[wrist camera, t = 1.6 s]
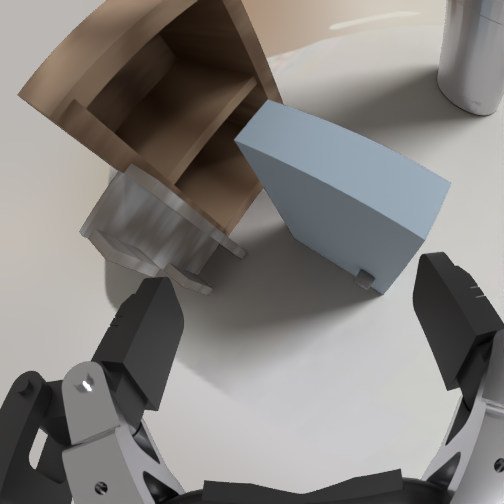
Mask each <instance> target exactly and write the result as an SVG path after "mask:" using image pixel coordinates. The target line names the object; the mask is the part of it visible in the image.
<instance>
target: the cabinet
mask: <svg viewBox="0 0 504 504" xmlns="http://www.w3.org/2000/svg"><path fill="white" fill-rule="evenodd" d="M18 96H19V97H20V98H22V99H23V100H24V101H26V102H27V103H28V104H30V105H31V106H32V107H33V108H35V109H36V110H37V111H39V112H40V113H41V114H43V115H44V116H46V117H47V118H48V119H49V120H51V121H52V122H53V123H55V124H56V125H57V126H59V127H60V128H61V129H63V130H64V131H65V132H67V133H68V134H69V135H71V136H72V137H73V138H75V139H76V140H77V141H79V142H80V143H81V144H83V145H84V146H85V147H87V148H88V149H89V150H91V151H92V152H93V153H95V154H96V155H98V156H99V157H100V158H101V159H103V160H104V161H105V162H107V163H108V164H109V165H111V166H112V167H114V168H115V169H116V170H118V173H117V174H116V176H115V177H114V178H113V180H112V181H111V183H110V184H109V186H108V187H107V189H106V190H105V192H104V193H103V195H102V196H101V198H100V199H99V201H98V202H97V204H96V205H95V207H94V208H93V210H92V212H91V213H90V215H89V216H88V218H87V220H86V221H85V223H84V225H83V226H82V228H81V230H80V231H79V232H80V233H81V235H82V236H83V237H86V238H88V239H89V240H90V241H91V243H92V244H93V245H94V246H95V247H96V248H97V249H98V251H99V252H100V253H101V254H102V256H103V257H104V258H105V259H106V260H107V261H110V262H113V263H116V264H118V265H121V266H124V267H126V268H129V269H132V270H135V271H138V272H140V273H143V274H146V275H149V276H152V277H155V276H156V274H157V273H158V271H159V270H160V269H162V270H164V271H165V272H166V273H167V274H168V275H170V276H171V277H172V278H173V279H174V280H175V281H176V282H177V283H179V284H180V285H181V286H182V287H184V288H187V289H190V290H193V291H196V292H199V293H202V294H206V295H210V293H211V292H212V291H213V288H212V287H211V286H209V285H208V284H207V283H206V282H204V281H203V280H202V279H201V278H199V277H198V274H199V273H200V271H201V270H202V268H203V267H204V265H205V264H206V263H207V261H208V260H209V258H210V257H211V255H212V254H213V253H214V251H215V250H216V248H217V247H218V245H219V244H221V245H222V246H224V247H225V248H226V249H228V250H229V251H231V252H232V253H234V254H235V255H236V256H238V257H239V258H241V259H242V258H243V257H244V255H245V254H246V253H247V252H245V251H244V250H243V249H242V248H240V247H239V246H238V245H237V244H236V243H234V242H233V241H232V240H231V239H229V238H228V236H229V234H230V233H231V231H232V230H233V228H234V227H235V226H236V224H237V223H238V221H239V220H240V219H241V217H242V216H243V214H244V213H245V212H246V210H247V209H248V208H249V206H250V205H251V203H252V202H253V201H254V199H255V198H256V196H257V195H258V194H259V192H260V191H261V190H262V188H263V185H262V184H261V182H260V181H259V179H258V177H257V176H256V174H255V172H254V171H253V169H252V168H251V166H250V164H249V163H248V161H247V160H246V158H245V156H244V155H243V153H242V152H241V150H240V149H239V147H238V145H237V144H236V142H235V141H234V139H235V138H236V137H237V136H238V134H239V133H240V132H241V131H242V129H243V128H244V127H245V126H246V125H247V123H248V122H249V121H250V120H251V119H252V117H253V116H254V115H255V114H256V113H257V112H258V110H259V109H260V108H261V107H262V106H263V105H264V103H265V102H266V101H267V100H271V101H274V102H277V103H280V104H283V102H282V99H281V96H280V93H279V91H278V88H277V85H276V83H275V80H274V77H273V75H272V72H271V70H270V67H269V65H268V62H267V60H266V57H265V55H264V52H263V50H262V48H261V45H260V43H259V41H258V38H257V35H256V33H255V31H254V28H253V26H252V24H251V21H250V20H249V17H248V15H247V13H246V10H245V8H244V6H243V4H242V1H241V0H106V1H105V2H104V3H103V4H102V5H101V6H99V7H98V8H97V9H96V10H95V11H94V12H92V13H91V14H90V15H89V16H88V17H87V18H86V19H85V20H83V22H81V23H80V24H79V25H78V26H77V27H76V28H75V29H74V30H73V31H72V32H71V33H70V34H69V35H68V36H67V37H66V38H65V39H64V40H63V41H62V42H61V43H60V44H59V45H58V46H57V48H56V49H55V50H54V51H53V52H52V53H51V54H50V55H49V56H48V58H47V59H46V60H45V61H44V62H43V63H42V64H41V66H40V67H39V68H38V69H37V70H36V71H35V73H34V74H33V75H32V77H31V78H30V79H29V80H28V82H27V83H26V84H25V85H24V87H23V88H22V89H21V91H20V92H19V93H18ZM283 105H284V104H283Z"/></svg>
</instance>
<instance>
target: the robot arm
mask: <svg viewBox="0 0 504 504" xmlns="http://www.w3.org/2000/svg"><path fill="white" fill-rule="evenodd" d="M437 82H438V86H439V88H440V90H441V91H442V92H443V94H444V95H445V96H446V97H447V98H448V99H449V100H450V101H451V102H453V103H454V104H455V105H457V106H458V107H460V108H461V109H463V110H466V111H468V112H470V113H473V114H477V115H489V114H492V113H494V112H495V111H496V110H497V108H498V106H499V103H500V101H501V99H502V96H503V94H504V0H447V2H446V17H445V26H444V35H443V43H442V50H441V56H440V63H439V69H438V74H437ZM413 307H414V310H415V313H416V315H417V317H418V320H419V322H420V324H421V326H422V329H423V331H424V333H425V335H426V338H427V340H428V342H429V345H430V347H431V350H432V352H433V355H434V357H435V360H436V362H437V365H438V367H439V370H440V372H441V375H442V378H443V380H444V383H445V386H446V389H447V391H449V390H452V389H456V388H459V387H460V389H461V391H462V395H461V396H460V398H459V400H458V403H457V406H456V409H455V411H454V414H453V417H452V420H451V422H450V425H449V427H448V430H447V432H446V435H445V437H444V439H443V442H442V444H441V446H440V448H439V450H438V452H437V454H436V455H435V457H434V458H433V460H432V461H431V463H430V464H429V466H428V467H427V469H426V471H425V472H424V474H423V476H422V478H421V480H419V479H414V478H405V477H402V474H401V469H397V470H392V471H388V472H383V473H378V474H373V475H367V476H361V477H354V478H352V479H349V480H346V481H343V482H341V483H338V484H335V485H332V486H329V487H326V488H323V489H320V490H316V491H313V492H310V493H306V494H297V493H292V492H287V491H282V490H277V489H272V488H268V487H263V486H259V485H255V484H250V483H248V484H247V483H229V482H216V481H206V480H205V481H204V486H203V489H200V490H196V491H191V492H188V493H186V492H185V491H184V489H183V488H182V486H181V485H180V483H179V482H178V480H177V479H176V478H175V477H174V476H173V474H172V473H171V472H170V471H169V469H168V468H167V466H166V464H165V462H164V461H163V458H162V457H161V455H160V453H159V451H158V449H157V447H156V444H155V442H154V440H153V438H152V436H151V434H150V432H149V430H148V428H147V425H146V423H145V421H144V419H143V418H142V416H143V413H144V410H153V411H158V409H159V405H160V402H161V399H162V396H163V392H164V389H165V386H166V383H167V379H168V376H169V373H170V370H171V367H172V363H173V360H174V357H175V354H176V351H177V348H178V345H179V341H180V338H181V335H182V332H183V328H184V317H183V313H182V310H181V307H180V305H179V302H178V299H177V297H176V294H175V291H174V289H173V286H172V283H171V281H170V279H169V278H168V277H157V278H146V279H144V280H143V282H142V283H141V285H140V287H139V289H138V290H137V292H136V294H132V295H131V296H130V297H129V298H128V299H127V300H126V301H125V302H124V303H122V305H121V306H120V308H119V310H118V312H117V313H116V315H115V318H114V319H113V321H112V322H111V324H110V327H109V328H108V329H107V331H106V333H105V335H104V337H103V339H102V341H101V343H100V344H99V346H98V348H97V350H96V352H95V354H94V356H93V358H92V360H91V361H89V362H83V363H80V364H78V365H76V366H74V367H73V368H72V369H71V370H69V372H68V373H67V374H66V376H65V377H64V379H63V380H58V381H52V382H46V381H45V380H44V379H43V378H42V376H41V375H40V374H39V373H38V372H36V371H28V372H25V373H23V374H22V375H20V376H19V377H18V378H17V379H16V380H15V382H14V383H13V385H12V387H11V389H10V391H9V393H8V394H7V397H6V399H5V401H4V403H3V405H2V407H1V409H0V504H71V501H72V497H73V500H74V503H75V504H504V323H503V322H502V320H501V318H500V317H499V315H498V314H497V312H496V311H495V309H494V308H493V306H492V305H491V303H490V302H489V300H488V299H487V297H486V296H484V293H483V292H482V290H481V289H480V287H478V285H477V283H476V282H475V281H474V279H473V278H472V276H471V275H470V274H469V273H467V272H466V271H465V270H463V269H462V268H460V267H459V266H455V265H454V264H453V263H452V261H451V260H450V259H449V258H448V256H447V255H446V254H445V253H444V252H437V253H428V254H422V255H421V256H420V259H419V264H418V269H417V275H416V280H415V285H414V290H413ZM39 428H40V429H41V430H43V431H44V432H45V433H46V434H48V437H47V439H46V442H45V445H44V448H43V450H42V453H41V456H40V459H39V462H38V466H37V468H36V469H33V468H32V466H31V465H30V462H29V453H30V450H31V447H32V445H33V442H34V439H35V437H36V434H37V432H38V429H39Z"/></svg>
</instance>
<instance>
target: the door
mask: <svg viewBox="0 0 504 504" xmlns="http://www.w3.org/2000/svg"><path fill="white" fill-rule="evenodd" d="M234 141H235V142H236V144H237V145H238V147H239V149H240V150H241V152H242V153H243V155H244V156H245V158H246V160H247V161H248V163H249V164H250V166H251V168H252V169H253V171H254V172H255V174H256V176H257V177H258V179H259V181H260V182H261V184H262V185H263V187H264V189H265V190H266V192H267V194H268V195H269V197H270V199H271V200H272V202H273V204H274V205H275V207H276V209H277V210H278V212H279V214H280V215H281V217H282V219H283V220H284V222H285V224H286V225H287V227H288V229H289V230H290V232H291V234H292V236H293V237H294V239H296V240H298V241H299V242H301V243H302V244H304V245H306V246H307V247H309V248H310V249H312V250H314V251H315V252H317V253H318V254H320V255H322V256H323V257H325V258H326V259H328V260H330V261H331V262H333V263H334V264H336V265H338V266H339V267H341V268H342V269H344V270H345V271H347V272H348V273H350V274H352V275H353V276H355V279H354V280H353V281H354V282H355V283H356V284H357V285H359V286H360V287H362V288H363V289H365V290H369V288H370V287H372V288H373V289H375V290H376V291H378V292H379V293H381V294H382V295H384V293H385V292H386V291H387V290H388V288H389V287H390V286H391V285H392V284H393V282H394V281H395V280H396V278H397V277H398V276H399V275H400V273H401V272H402V271H403V270H404V268H405V267H406V266H407V264H408V263H409V262H410V260H411V259H412V258H413V256H414V255H415V254H416V252H417V251H418V250H419V248H420V247H421V245H422V244H423V243H424V241H425V240H426V238H427V236H428V234H429V232H430V230H431V228H432V226H433V223H434V221H435V219H436V217H437V215H438V213H439V211H440V208H441V206H442V204H443V202H444V199H445V197H446V195H447V193H448V190H449V188H450V185H451V182H449V181H447V180H446V179H444V178H442V177H441V176H439V175H437V174H435V173H434V172H432V171H430V170H428V169H427V168H425V167H423V166H421V165H420V164H418V163H416V162H414V161H412V160H410V159H408V158H407V157H405V156H403V155H401V154H399V153H397V152H395V151H393V150H391V149H389V148H387V147H385V146H383V145H381V144H379V143H377V142H374V141H372V140H370V139H368V138H366V137H364V136H362V135H359V134H357V133H355V132H353V131H350V130H348V129H346V128H343V127H341V126H339V125H336V124H334V123H331V122H329V121H326V120H324V119H321V118H319V117H316V116H313V115H311V114H308V113H305V112H303V111H300V110H297V109H294V108H292V107H289V106H286V105H283V104H280V103H277V102H274V101H271V100H267V101H266V102H265V103H264V105H263V106H262V107H261V108H260V109H259V110H258V112H257V113H256V114H255V115H254V116H253V117H252V119H251V120H250V121H249V122H248V123H247V125H246V126H245V127H244V128H243V129H242V131H241V132H240V133H239V134H238V136H237V137H236V138H235V139H234Z"/></svg>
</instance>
